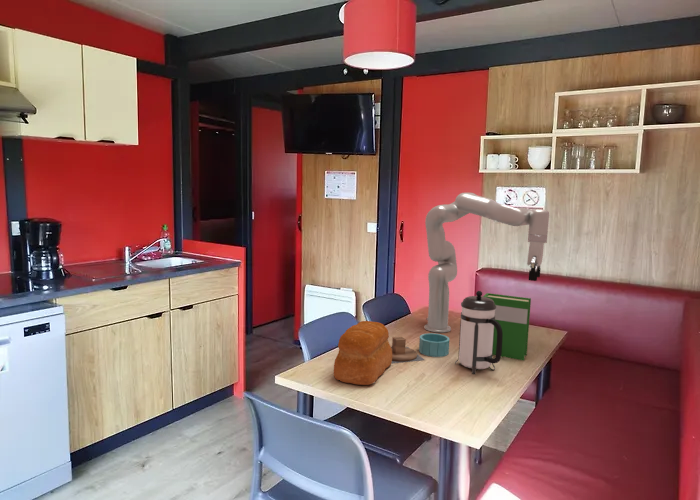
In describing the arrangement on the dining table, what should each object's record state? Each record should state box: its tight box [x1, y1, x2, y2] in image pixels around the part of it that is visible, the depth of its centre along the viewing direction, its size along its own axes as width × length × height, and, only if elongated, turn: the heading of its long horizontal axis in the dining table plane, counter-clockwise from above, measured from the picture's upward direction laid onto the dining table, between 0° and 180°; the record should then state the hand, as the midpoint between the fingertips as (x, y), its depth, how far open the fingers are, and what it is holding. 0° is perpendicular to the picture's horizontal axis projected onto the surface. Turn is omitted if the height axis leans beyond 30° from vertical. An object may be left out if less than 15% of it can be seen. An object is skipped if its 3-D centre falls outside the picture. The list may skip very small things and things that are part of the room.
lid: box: [391, 336, 418, 363], centre depth 194 cm, size 15×15×7 cm
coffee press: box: [454, 290, 503, 375], centre depth 181 cm, size 17×16×30 cm
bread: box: [333, 320, 392, 386], centre depth 176 cm, size 16×26×17 cm, turn 157°
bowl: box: [418, 332, 450, 358], centre depth 199 cm, size 12×12×6 cm
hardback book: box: [482, 292, 532, 361], centre depth 199 cm, size 18×7×24 cm, turn 62°
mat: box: [391, 346, 426, 365], centre depth 194 cm, size 16×16×1 cm
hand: (534, 278), depth 205 cm, fingers open, 9 cm apart
